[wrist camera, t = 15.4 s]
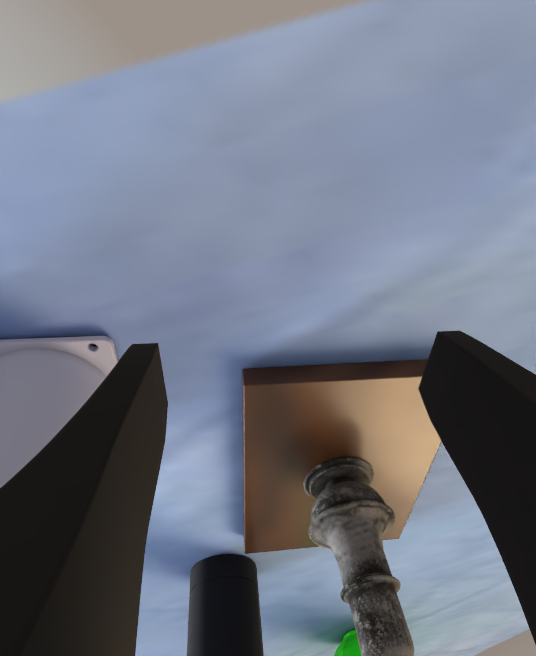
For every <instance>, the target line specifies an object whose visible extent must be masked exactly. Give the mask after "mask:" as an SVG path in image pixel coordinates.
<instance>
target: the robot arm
mask: <svg viewBox="0 0 536 656" xmlns="http://www.w3.org/2000/svg"><path fill="white" fill-rule="evenodd" d="M90 344H95V345H97V347H93V346H91V345H90ZM418 390H419V392H420V395H421V398H422V400H423V403H424V406H425V408H426V411H427V413H428V416H429V418H430V420H431V423H432V424H433V426H434V428H435V430H436V432H437V434H438V435H439V437H440V439H441V441H442V443H443V444H444V446H445V448H446V450H447V452H448V453H449V455H450V457H451V459H452V460H453V462H454V464H455V466H456V467H457V469H458V471H459V473H460V474H461V476H462V478H463V480H464V481H465V483H466V485H467V487H468V488H469V490H470V492H471V494H472V495H473V497H474V499H475V501H476V503H477V505H478V507H479V509H480V511H481V513H482V514H483V516H484V519H485V521H486V523H487V525H488V528H489V530H490V532H491V534H492V537H493V539H494V541H495V543H496V546H497V548H498V550H499V552H500V555H501V557H502V559H503V562H504V564H505V567H506V569H507V572H508V574H509V576H510V579H511V581H512V584H513V586H514V589H515V591H516V594H517V596H518V598H519V601H520V604H521V606H522V609H523V612H524V615H525V617H526V620H527V623H528V625H529V628H530V631H531V633H532V636H533V639H534V641H535V644H536V375H535V374H533V373H532V372H530V371H528V370H527V369H525V368H523V367H522V366H520V365H518V364H517V363H515V362H513V361H512V360H510V359H508V358H507V357H505V356H503V355H502V354H500V353H498V352H497V351H495V350H493V349H492V348H490V347H488V346H487V345H485V344H483V343H482V342H480V341H478V340H476V339H474V338H473V337H471V336H469V335H467V334H465V333H463V332H461V331H443V332H437V335H436V338H435V341H434V344H433V347H432V350H431V353H430V356H429V358H428V361H427V364H426V367H425V370H424V373H423V376H422V379H421V382H420V385H419V388H418ZM167 407H168V401H167V395H166V389H165V383H164V377H163V371H162V365H161V359H160V353H159V347H158V343H151V344H132V345H131V346H130V347H129V348H128V349H127V351H126V352H125V353H124V355H123V356H122V357H121V359H120V360H119V361H118V359H117V355H116V351H115V347H114V343H113V341H112V339H110V338H109V337H107V336H83V337H57V338H31V339H5V340H0V656H135V650H136V638H137V626H138V615H139V604H140V593H141V583H142V573H143V563H144V553H145V545H146V538H147V532H148V526H149V521H150V516H151V510H152V505H153V500H154V495H155V490H156V485H157V480H158V475H159V470H160V464H161V459H162V454H163V449H164V443H165V435H166V422H167Z"/></svg>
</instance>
